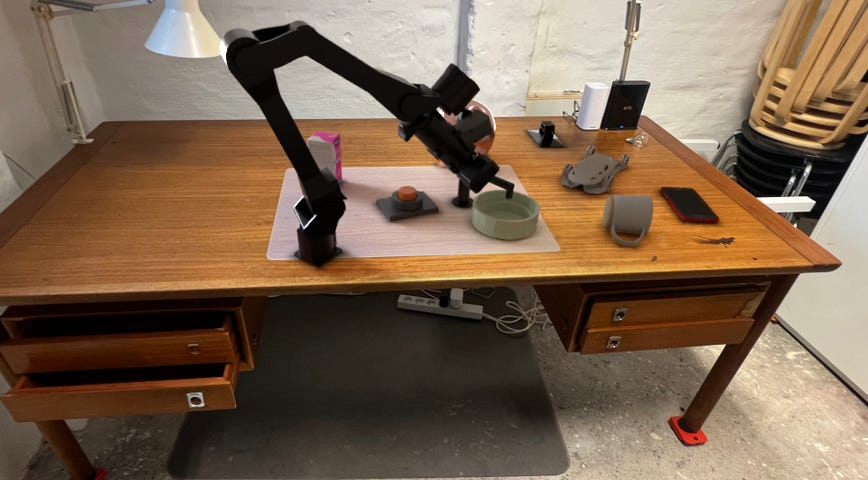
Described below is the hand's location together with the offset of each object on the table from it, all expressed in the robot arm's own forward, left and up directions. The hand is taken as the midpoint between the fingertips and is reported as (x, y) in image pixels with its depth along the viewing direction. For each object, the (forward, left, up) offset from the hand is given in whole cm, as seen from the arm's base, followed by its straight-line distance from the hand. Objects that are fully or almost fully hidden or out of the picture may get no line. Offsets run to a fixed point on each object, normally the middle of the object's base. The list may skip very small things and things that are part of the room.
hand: (484, 182), depth 100 cm
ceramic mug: (+13, -26, -9) cm, 30 cm away
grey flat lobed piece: (+35, -12, -9) cm, 38 cm away
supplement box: (-7, +36, -9) cm, 38 cm away
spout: (+3, +1, -3) cm, 4 cm away
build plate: (+51, +7, -9) cm, 52 cm away
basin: (+2, -5, -9) cm, 10 cm away
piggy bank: (+23, +18, -9) cm, 31 cm away
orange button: (-5, +15, -6) cm, 17 cm away
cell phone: (+33, -34, -9) cm, 48 cm away
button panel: (-5, +15, -9) cm, 18 cm away
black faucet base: (+4, +7, -9) cm, 12 cm away
